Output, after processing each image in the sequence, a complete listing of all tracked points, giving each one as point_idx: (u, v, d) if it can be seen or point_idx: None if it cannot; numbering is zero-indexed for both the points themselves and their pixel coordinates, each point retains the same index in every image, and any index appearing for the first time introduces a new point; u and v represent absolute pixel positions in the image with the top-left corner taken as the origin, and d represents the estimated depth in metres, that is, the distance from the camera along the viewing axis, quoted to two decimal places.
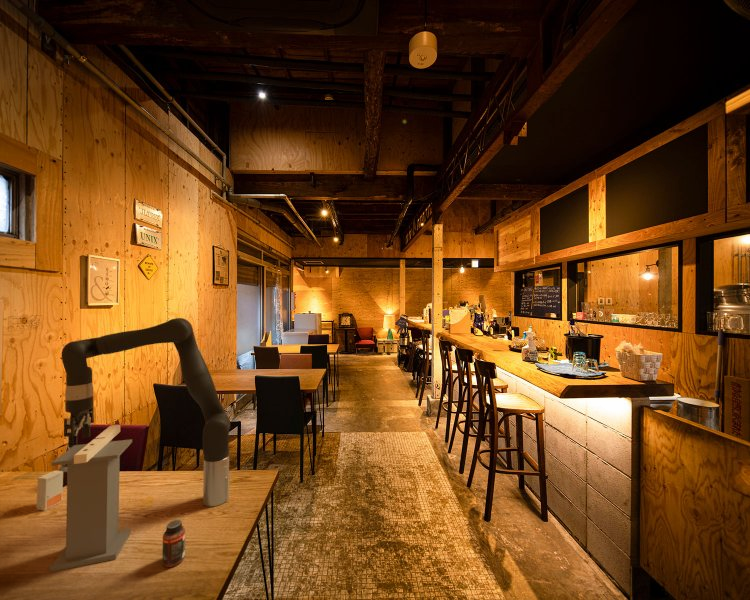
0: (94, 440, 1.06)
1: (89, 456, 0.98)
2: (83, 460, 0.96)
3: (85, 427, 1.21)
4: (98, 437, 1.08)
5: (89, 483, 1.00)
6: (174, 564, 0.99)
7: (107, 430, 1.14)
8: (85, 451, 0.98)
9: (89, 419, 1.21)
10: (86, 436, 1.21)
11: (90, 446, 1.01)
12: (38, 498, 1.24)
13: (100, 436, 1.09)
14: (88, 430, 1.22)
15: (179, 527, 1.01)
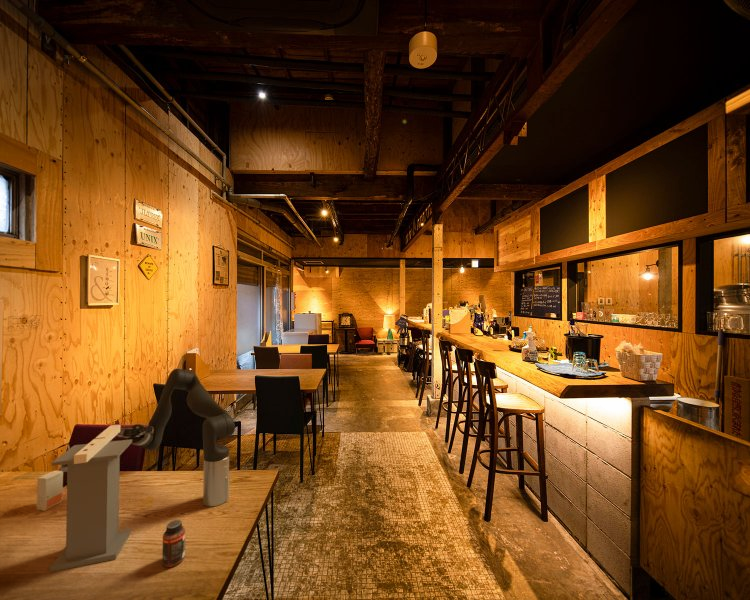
0: (94, 440, 1.06)
1: (89, 456, 0.98)
2: (83, 460, 0.96)
3: None
4: (98, 437, 1.08)
5: (89, 483, 1.00)
6: (174, 564, 0.99)
7: (107, 430, 1.14)
8: (85, 451, 0.98)
9: None
10: None
11: (90, 446, 1.01)
12: (38, 498, 1.24)
13: (100, 436, 1.09)
14: None
15: (179, 527, 1.01)
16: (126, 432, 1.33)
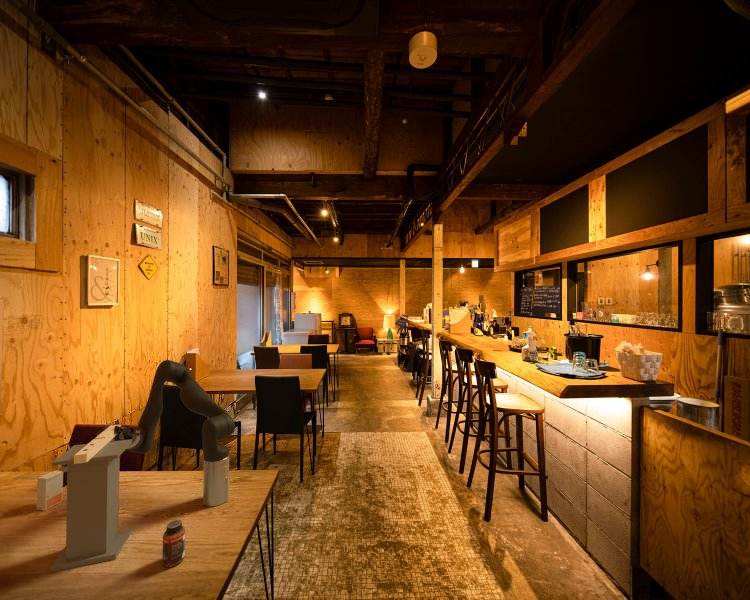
0: (94, 440, 1.06)
1: (89, 456, 0.98)
2: (83, 460, 0.96)
3: None
4: (98, 437, 1.08)
5: (89, 483, 1.00)
6: (174, 564, 0.99)
7: (107, 430, 1.14)
8: (85, 451, 0.98)
9: None
10: None
11: (90, 446, 1.01)
12: (38, 498, 1.24)
13: (100, 436, 1.09)
14: None
15: (179, 527, 1.01)
16: None
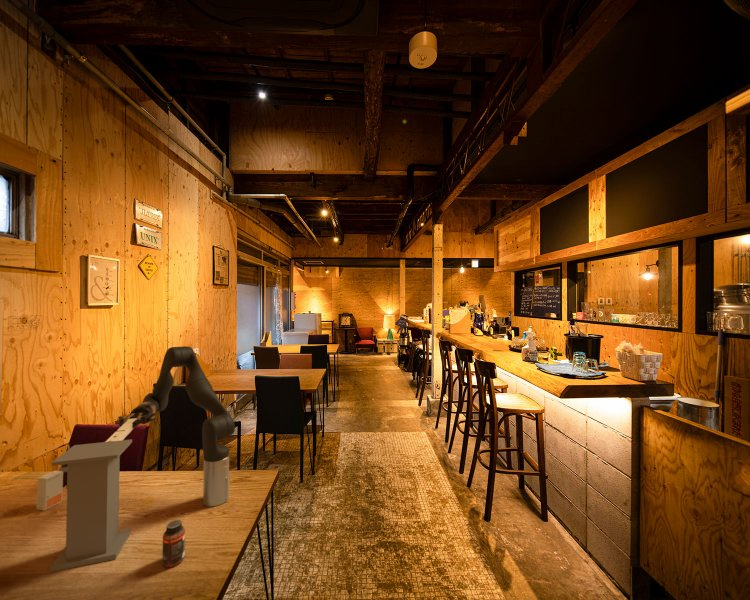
0: (116, 432, 1.22)
1: None
2: None
3: None
4: (119, 430, 1.24)
5: (89, 483, 1.00)
6: (174, 564, 0.99)
7: (126, 423, 1.30)
8: None
9: (139, 415, 1.38)
10: None
11: (113, 438, 1.18)
12: (38, 498, 1.24)
13: (121, 429, 1.25)
14: None
15: (179, 527, 1.01)
16: None
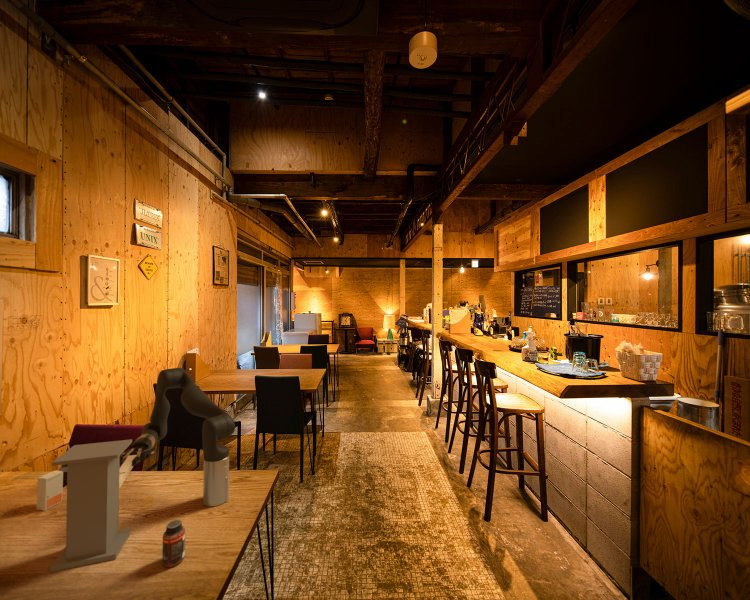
0: None
1: None
2: None
3: None
4: (119, 472, 1.24)
5: (89, 483, 1.00)
6: (174, 564, 0.99)
7: (126, 462, 1.30)
8: None
9: (139, 451, 1.38)
10: None
11: None
12: (38, 498, 1.24)
13: (120, 470, 1.25)
14: (134, 458, 1.33)
15: (179, 527, 1.01)
16: None
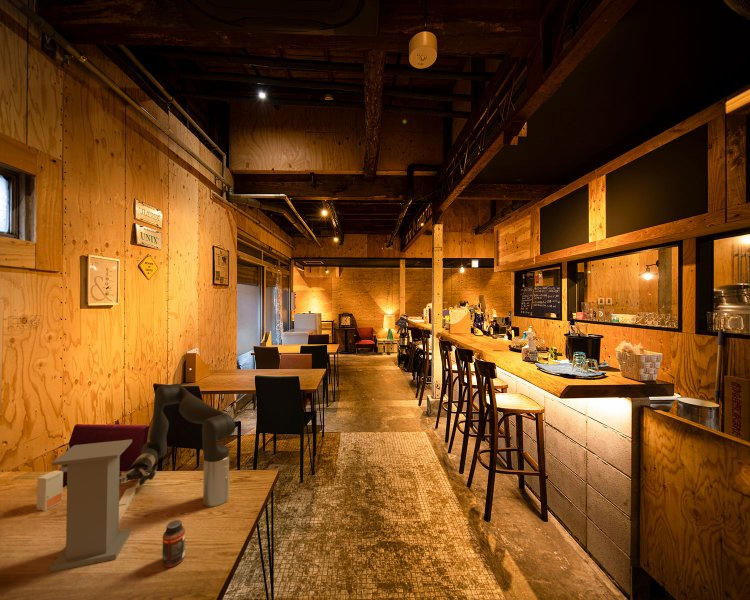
0: None
1: None
2: None
3: None
4: (119, 504, 1.25)
5: (89, 483, 1.00)
6: (174, 564, 0.99)
7: (125, 495, 1.31)
8: None
9: (142, 471, 1.38)
10: None
11: None
12: (38, 498, 1.24)
13: (121, 502, 1.26)
14: (141, 478, 1.35)
15: (179, 527, 1.01)
16: (129, 478, 1.36)
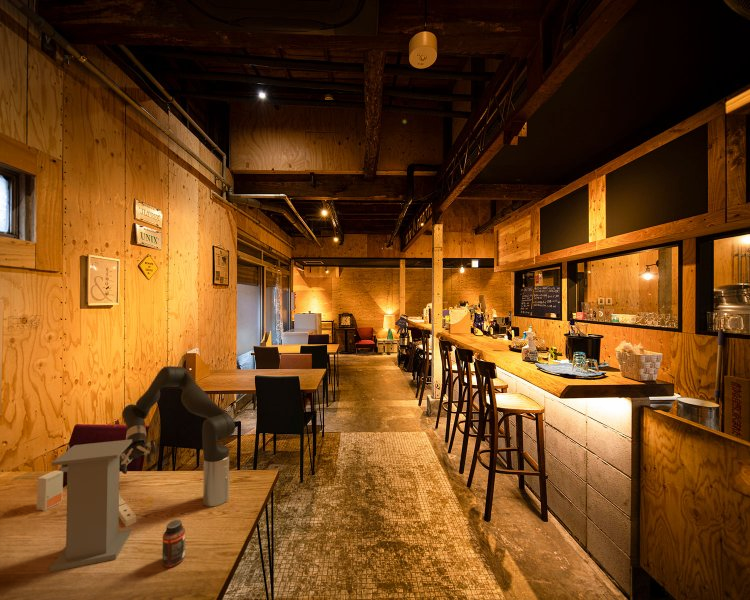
0: (119, 507, 1.23)
1: None
2: (133, 522, 1.18)
3: None
4: None
5: (89, 483, 1.00)
6: (174, 564, 0.99)
7: None
8: (131, 515, 1.18)
9: (142, 449, 1.45)
10: None
11: (126, 511, 1.21)
12: (38, 498, 1.24)
13: None
14: None
15: (179, 527, 1.01)
16: (132, 458, 1.44)
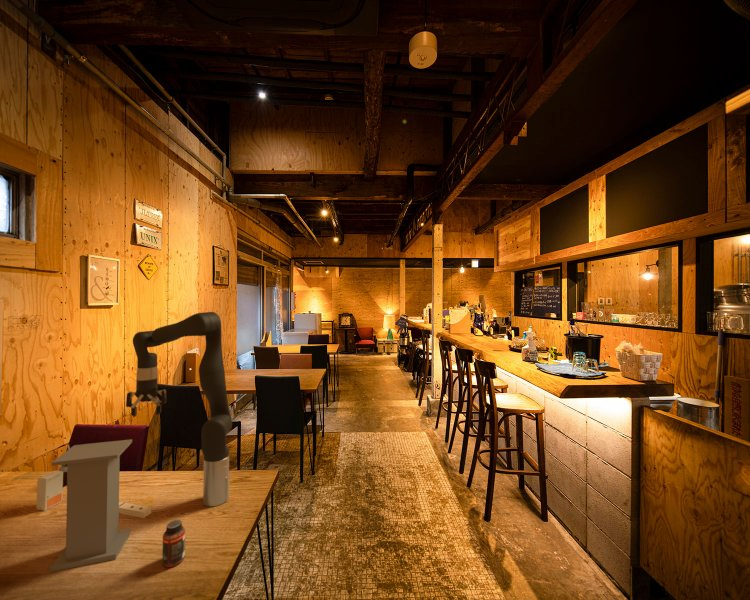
0: (122, 507, 1.23)
1: None
2: (149, 513, 1.23)
3: None
4: None
5: (89, 483, 1.00)
6: (174, 564, 0.99)
7: None
8: (144, 508, 1.23)
9: (153, 399, 1.41)
10: None
11: (134, 507, 1.23)
12: (38, 498, 1.24)
13: None
14: None
15: (179, 527, 1.01)
16: None
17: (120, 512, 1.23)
